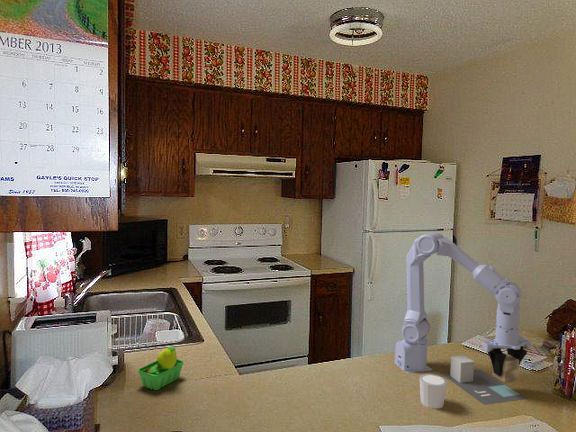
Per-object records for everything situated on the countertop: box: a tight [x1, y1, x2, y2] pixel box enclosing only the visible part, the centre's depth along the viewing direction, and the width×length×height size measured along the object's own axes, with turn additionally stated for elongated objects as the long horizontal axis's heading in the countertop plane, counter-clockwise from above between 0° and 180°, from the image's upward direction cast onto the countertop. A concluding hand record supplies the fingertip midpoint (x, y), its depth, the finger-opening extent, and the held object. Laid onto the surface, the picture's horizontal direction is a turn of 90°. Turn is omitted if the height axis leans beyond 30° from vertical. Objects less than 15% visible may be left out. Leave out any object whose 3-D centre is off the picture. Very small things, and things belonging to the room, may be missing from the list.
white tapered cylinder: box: [419, 373, 448, 410], centre depth 105 cm, size 7×7×7 cm
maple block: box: [491, 352, 520, 383], centre depth 111 cm, size 4×4×6 cm
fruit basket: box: [137, 345, 185, 391], centre depth 114 cm, size 11×9×11 cm
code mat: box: [441, 368, 528, 406], centre depth 115 cm, size 14×18×1 cm
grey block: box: [449, 355, 475, 383], centre depth 118 cm, size 4×4×6 cm
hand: (505, 373), depth 111 cm, fingers closed on maple block, 4 cm apart
